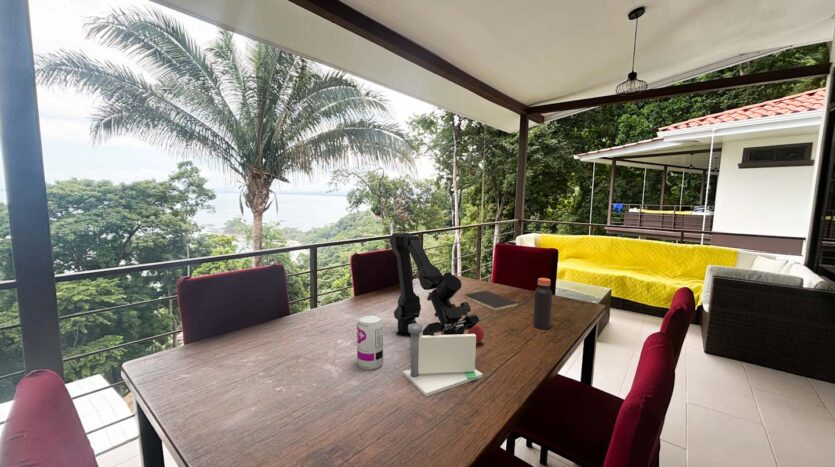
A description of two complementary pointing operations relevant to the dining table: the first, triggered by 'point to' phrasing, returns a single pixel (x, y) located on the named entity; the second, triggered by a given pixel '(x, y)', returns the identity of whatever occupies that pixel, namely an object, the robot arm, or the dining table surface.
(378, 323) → the supplement can
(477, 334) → the onion
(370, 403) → the dining table surface
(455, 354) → the hinged door panel
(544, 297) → the bottle
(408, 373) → the white base board
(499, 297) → the hardcover book
